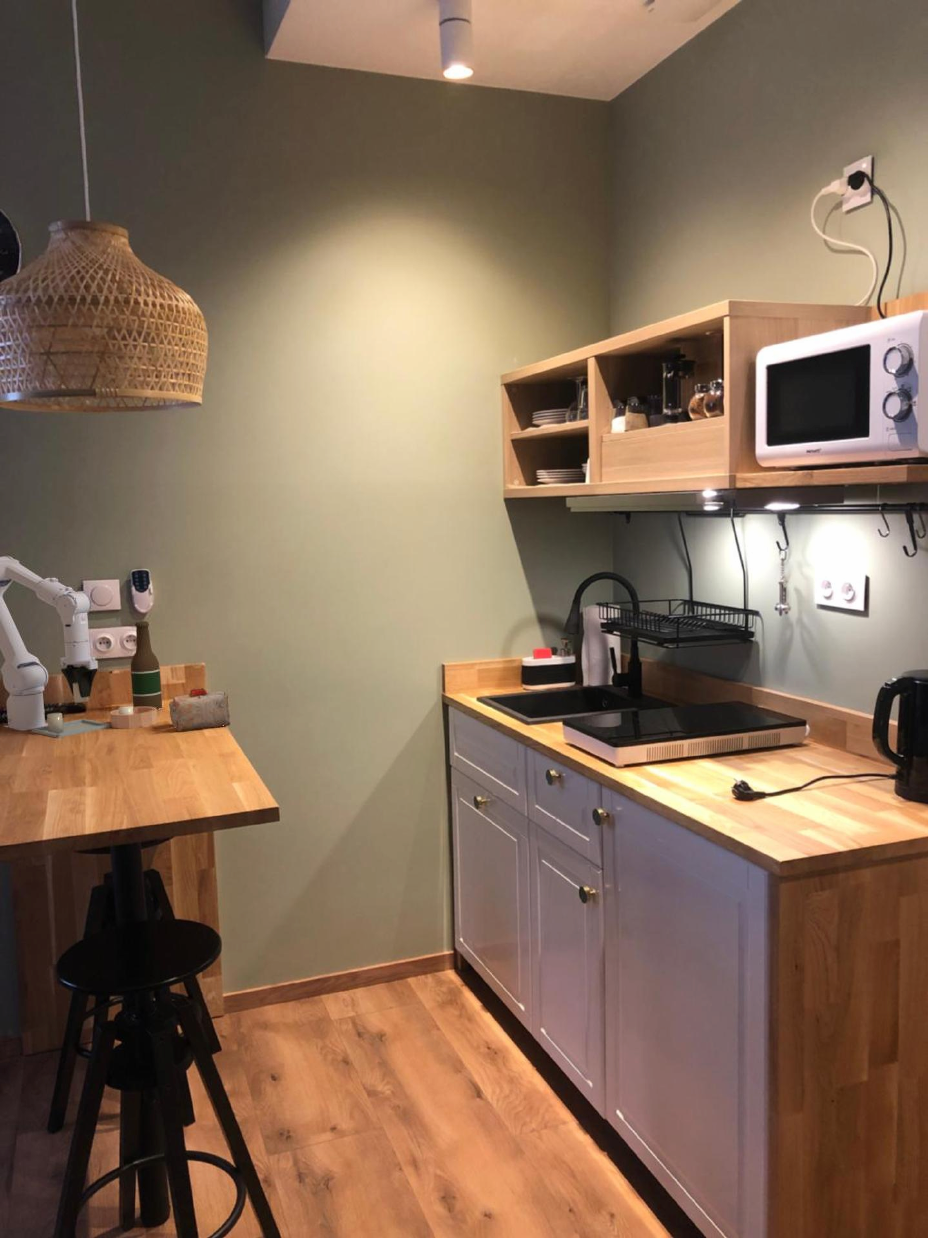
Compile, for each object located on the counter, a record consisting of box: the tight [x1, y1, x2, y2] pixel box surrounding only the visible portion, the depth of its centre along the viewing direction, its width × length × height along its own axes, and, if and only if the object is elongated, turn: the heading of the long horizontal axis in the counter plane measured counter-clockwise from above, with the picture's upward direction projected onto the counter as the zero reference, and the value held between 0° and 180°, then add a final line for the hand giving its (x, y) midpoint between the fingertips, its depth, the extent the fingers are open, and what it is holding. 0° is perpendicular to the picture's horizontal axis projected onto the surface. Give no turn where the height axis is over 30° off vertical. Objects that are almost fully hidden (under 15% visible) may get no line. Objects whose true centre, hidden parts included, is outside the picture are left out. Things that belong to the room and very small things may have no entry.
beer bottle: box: [130, 620, 163, 711], centre depth 279 cm, size 8×8×24 cm
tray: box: [30, 718, 112, 739], centre depth 255 cm, size 13×14×1 cm
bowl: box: [109, 707, 158, 730], centre depth 259 cm, size 11×11×4 cm
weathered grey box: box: [168, 686, 231, 732], centre depth 254 cm, size 14×8×10 cm, turn 115°
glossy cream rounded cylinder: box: [73, 682, 90, 703], centre depth 255 cm, size 3×3×4 cm
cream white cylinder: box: [118, 705, 133, 714], centre depth 258 cm, size 3×3×4 cm
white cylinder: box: [46, 712, 64, 734], centre depth 252 cm, size 3×3×4 cm
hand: (81, 696), depth 255 cm, fingers closed on glossy cream rounded cylinder, 3 cm apart
